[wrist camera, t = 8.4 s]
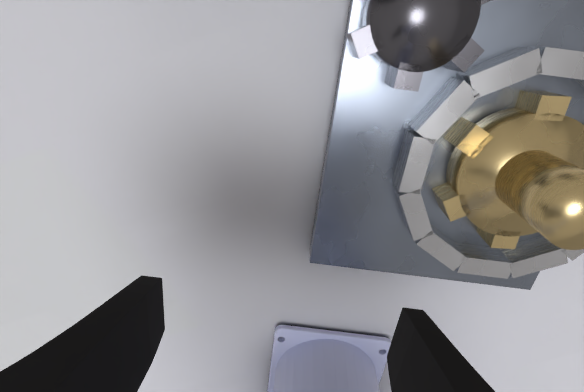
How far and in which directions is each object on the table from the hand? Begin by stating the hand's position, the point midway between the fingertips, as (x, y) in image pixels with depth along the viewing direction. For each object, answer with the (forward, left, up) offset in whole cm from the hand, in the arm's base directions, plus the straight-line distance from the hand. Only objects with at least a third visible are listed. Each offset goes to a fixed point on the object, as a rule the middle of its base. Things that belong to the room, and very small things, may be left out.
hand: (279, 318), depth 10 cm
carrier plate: (+4, -8, -10) cm, 13 cm away
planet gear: (+3, -11, -9) cm, 14 cm away
